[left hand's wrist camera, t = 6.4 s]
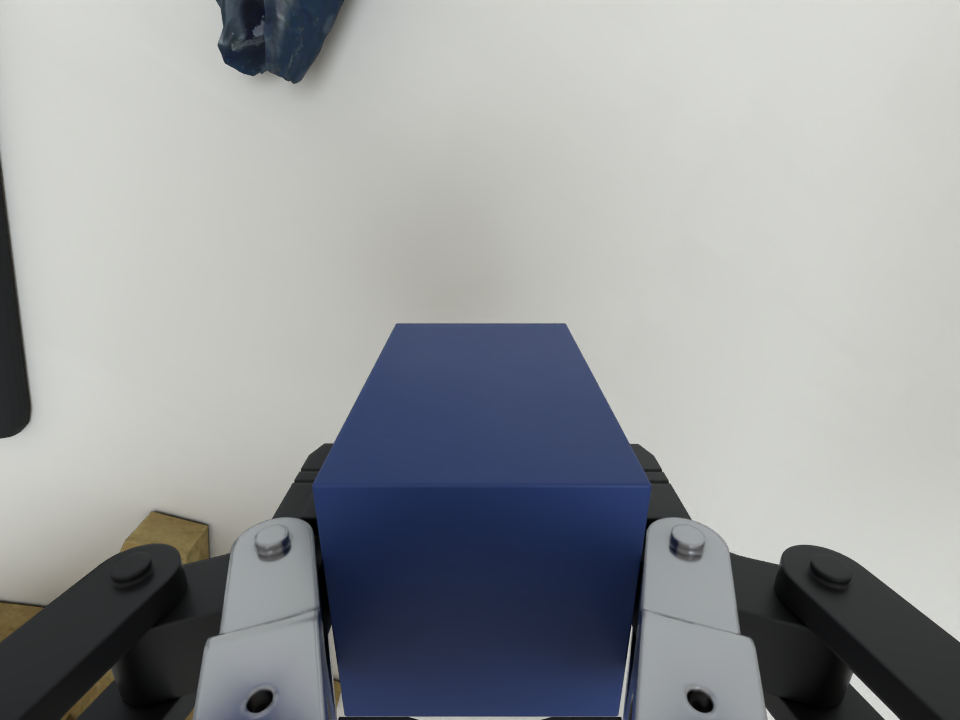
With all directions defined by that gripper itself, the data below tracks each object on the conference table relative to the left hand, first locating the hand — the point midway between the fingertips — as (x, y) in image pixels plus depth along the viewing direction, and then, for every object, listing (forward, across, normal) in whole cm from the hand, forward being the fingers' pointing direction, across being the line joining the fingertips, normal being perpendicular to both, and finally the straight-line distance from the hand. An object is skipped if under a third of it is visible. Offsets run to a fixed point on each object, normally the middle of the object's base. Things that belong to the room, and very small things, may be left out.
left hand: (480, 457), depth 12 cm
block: (+3, 0, 0) cm, 3 cm away
